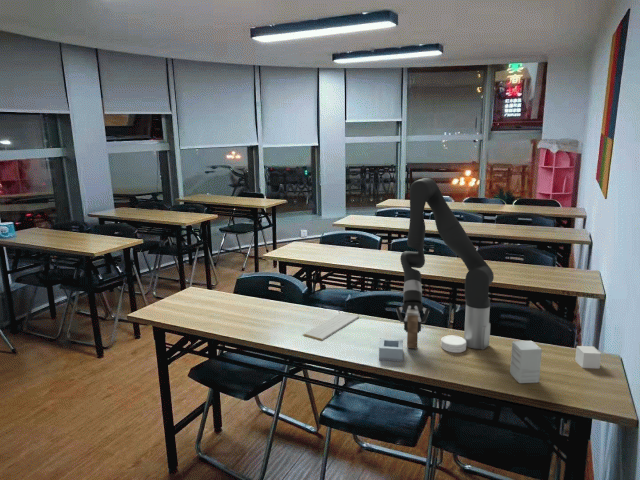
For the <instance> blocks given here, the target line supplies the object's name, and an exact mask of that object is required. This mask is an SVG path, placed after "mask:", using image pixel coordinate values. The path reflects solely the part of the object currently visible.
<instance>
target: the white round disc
mask: <svg viewBox="0 0 640 480" xmlns="http://www.w3.org/2000/svg"><path fill="white" fill-rule="evenodd" d="M466 343H467V342H466V340H465V339H464V337H461V336H459V335H455V334H453V335H451V334H450V335H445V336H443V337H441V339H440V348H441V349H442V350H444V351H445V352H448V353H453V354H455V353H456V354H457V353H462V352H465V351H466V350H467V346H466Z"/></svg>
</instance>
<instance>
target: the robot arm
mask: <svg viewBox="0 0 640 480" xmlns="http://www.w3.org/2000/svg"><path fill="white" fill-rule="evenodd" d="M426 204H427V205H428V207H429V208H430V209H431V212H432V214H433V218H434V221H435V222H434V223H435V226H436V230H437V232H438V235H439V236H440V237H441V239H442V241H443V242H444V244H445V245H446V246H447V248H449V250H451V251H452V252H453V253H454V254H455V255H456V256H458V258H460V260H462V262H463V263H464V265H465V267H466V268H467V270H468V271H467V273H466V274H465V278H464V279H465V280H464V299H465V315H464V334H463V338H464V339H465V340H466V342H467V343H466V348H470V349H475V350H483V351H484V350H485V349H487V348H488V347H489V345H490V340H491V339H490V336H491V322H490V312H491V311H490V309H491V300H490V298H489V292H490V291H489V290H490V289H489V288H490V286H491V284H492V283H493V281H494V272H493V269H492V268H491V267H490V266H489V265H488V263H487V262H486V261H485V259H484V258H483V256H482V255H480V253H479V252H478V250H477V249H476V247H475V246H474V244H473V242H472V241H471V239H470V237H469V235H468V234H467V232H466V231H465V229H464V228H463V226H462V224H461V223H460V221H459V220H458V218H457V217H456V215H455V214H454V212H453V211H452V209H451V208H450V206H449V205H448V203H447V202H446V200H445V197H444V194H443V193H442V191H441V189H440V187H439V185H438V184H437V183H436V181H435V180H434V179H432V178H430V177H423V178H421V179H418V180H415V181H413V182H412V183H411V185H410V187H409V228H408V234H407V240H406V243H407V247H409V248H411V249H414V250H416V251H409V250H405V251H403V252H401V255H400V259H399V260H400V263H401V267H402V270H403V275H404V277H403V278H404V280H403V281H404V282H403V300H402V301H403V302H402V306H400V307H399V306H397V307H395V310H396V314H397V316H398V320H399V322H400V323H403V330H404V331H405V333H407V332H408V315H407V309H417V310H418V334H419V333H420V332H421V331H422V324H425V323H426V322H427V319H428V316H429V313H430V308H429V307H427V308H426V307H424V306H423V302H422V301H423V297H422V296H423V289H422V273H421V272H420V270H419V269H422V268H423V267H424V266H425V264H426V257H425V253H424V249H425V248H424V244H425V237H426V236H425V235H426V222H425V218H424V217H425V215H424V213H425V206H426ZM402 311H403V312H404V313H405V315H404V316H405V317H404V318H403V315H402V313H403V312H402ZM422 312H423V317H422V318H421V315H420V314H421V313H422Z"/></svg>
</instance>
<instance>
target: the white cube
mask: <svg viewBox="0 0 640 480" xmlns="http://www.w3.org/2000/svg"><path fill="white" fill-rule="evenodd" d="M601 359H602V352H600V350H598V349H597V348H596V347H595V346H594V345H593V346H591V345H590V346H589V345H584V346H583V345H576V349H575V359H574V361H575V362H576V364H578V365H579V366H580V367H581V368H582V369H600V367H601V361H602V360H601Z"/></svg>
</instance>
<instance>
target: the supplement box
mask: <svg viewBox="0 0 640 480" xmlns="http://www.w3.org/2000/svg"><path fill="white" fill-rule="evenodd" d="M510 353H511V356H510V357H511V358H510V368H509V369H510V370H509V374H510V375H511V376H512V377H513V379H514V380H515V381H516V382H518V383H519V384H529V383H530V384H534V383H540V375H541V363H542V353H543V349H542V348H541V347H540V346H538V345H537V344H536V343H535V342H534V341H532V340H515V341H511V352H510Z"/></svg>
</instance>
